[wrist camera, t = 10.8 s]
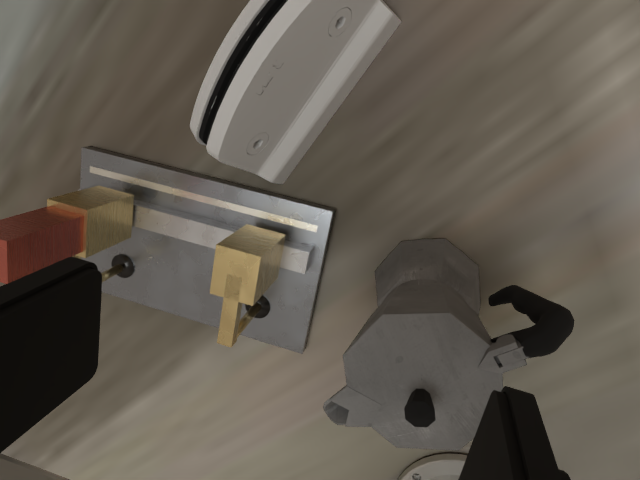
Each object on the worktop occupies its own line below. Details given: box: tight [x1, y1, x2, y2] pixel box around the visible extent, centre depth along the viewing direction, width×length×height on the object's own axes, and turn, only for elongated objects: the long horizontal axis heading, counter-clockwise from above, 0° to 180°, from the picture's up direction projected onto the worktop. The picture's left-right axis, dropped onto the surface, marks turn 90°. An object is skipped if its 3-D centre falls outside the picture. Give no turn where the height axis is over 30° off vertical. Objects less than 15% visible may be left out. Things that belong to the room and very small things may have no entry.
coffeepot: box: [323, 239, 574, 450], centre depth 32 cm, size 15×9×18 cm, turn 120°
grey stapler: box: [190, 0, 401, 184], centre depth 35 cm, size 17×5×10 cm, turn 143°
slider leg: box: [0, 186, 134, 284], centre depth 38 cm, size 8×4×14 cm, turn 169°
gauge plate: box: [79, 146, 336, 354], centre depth 41 cm, size 14×24×9 cm, turn 79°
